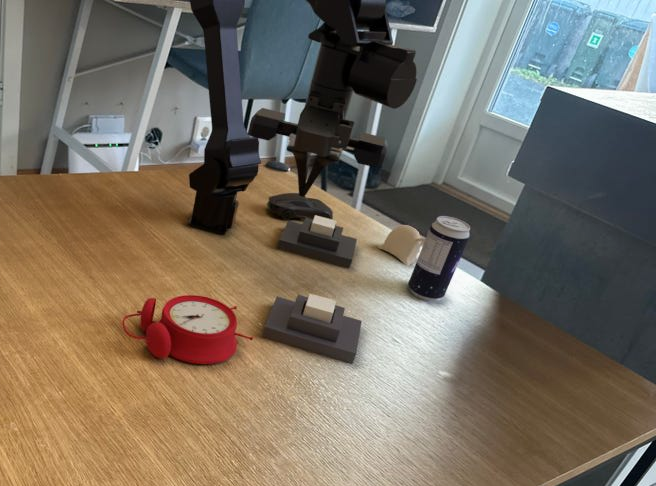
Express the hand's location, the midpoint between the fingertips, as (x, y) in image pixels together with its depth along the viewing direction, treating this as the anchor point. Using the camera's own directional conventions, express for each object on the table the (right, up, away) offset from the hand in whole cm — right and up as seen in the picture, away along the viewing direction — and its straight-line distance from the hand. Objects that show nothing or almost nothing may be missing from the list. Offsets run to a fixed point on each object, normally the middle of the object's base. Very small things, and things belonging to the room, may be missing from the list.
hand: (302, 195), depth 102 cm
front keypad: (0, -20, -8) cm, 22 cm away
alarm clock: (-18, -22, -15) cm, 32 cm away
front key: (0, -18, -10) cm, 20 cm away
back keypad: (+5, -5, +15) cm, 17 cm away
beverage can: (+20, -14, +8) cm, 26 cm away
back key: (+6, -3, +13) cm, 15 cm away
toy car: (+4, +2, +26) cm, 26 cm away
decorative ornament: (+20, -6, +18) cm, 28 cm away
